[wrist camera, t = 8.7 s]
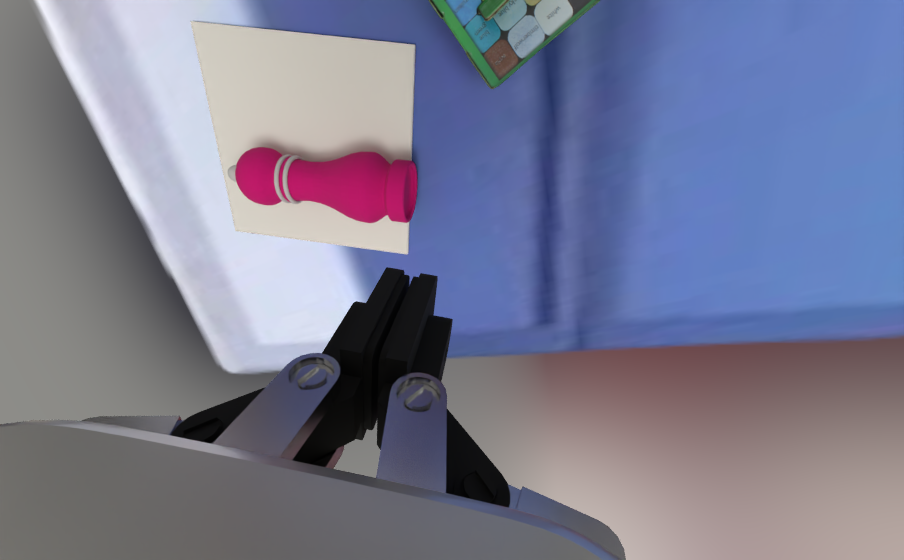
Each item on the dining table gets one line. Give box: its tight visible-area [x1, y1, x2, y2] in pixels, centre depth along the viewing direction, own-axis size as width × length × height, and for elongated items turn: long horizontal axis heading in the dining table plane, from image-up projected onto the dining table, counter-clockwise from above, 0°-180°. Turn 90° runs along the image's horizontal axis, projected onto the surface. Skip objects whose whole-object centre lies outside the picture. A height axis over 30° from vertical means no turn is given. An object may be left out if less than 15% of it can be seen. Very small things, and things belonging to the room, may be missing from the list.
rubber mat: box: [191, 21, 416, 254], centre depth 42 cm, size 22×22×1 cm
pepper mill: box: [228, 147, 417, 223], centre depth 41 cm, size 7×7×20 cm
